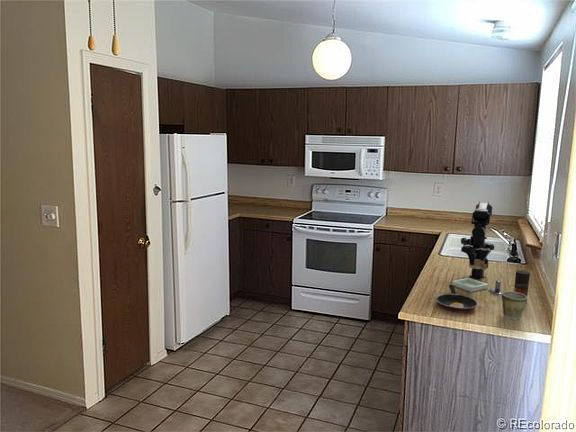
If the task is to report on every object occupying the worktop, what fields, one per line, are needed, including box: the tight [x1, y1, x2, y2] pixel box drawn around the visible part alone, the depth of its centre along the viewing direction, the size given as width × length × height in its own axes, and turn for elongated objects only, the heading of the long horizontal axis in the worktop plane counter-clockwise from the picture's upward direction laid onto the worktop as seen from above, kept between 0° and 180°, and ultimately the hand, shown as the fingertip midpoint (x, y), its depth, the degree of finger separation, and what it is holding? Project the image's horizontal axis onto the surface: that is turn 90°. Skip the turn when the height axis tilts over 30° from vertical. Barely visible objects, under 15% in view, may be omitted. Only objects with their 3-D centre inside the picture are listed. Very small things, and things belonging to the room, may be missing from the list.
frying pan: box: [435, 283, 480, 313], centre depth 225 cm, size 19×32×4 cm, turn 168°
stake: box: [488, 280, 506, 296], centre depth 239 cm, size 8×8×6 cm
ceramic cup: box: [501, 290, 528, 321], centre depth 208 cm, size 13×10×10 cm
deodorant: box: [513, 269, 531, 304], centre depth 225 cm, size 6×6×15 cm
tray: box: [451, 277, 489, 293], centre depth 246 cm, size 12×12×3 cm
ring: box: [468, 259, 487, 271], centre depth 242 cm, size 7×9×3 cm
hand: (476, 264), depth 243 cm, fingers closed on ring, 7 cm apart
